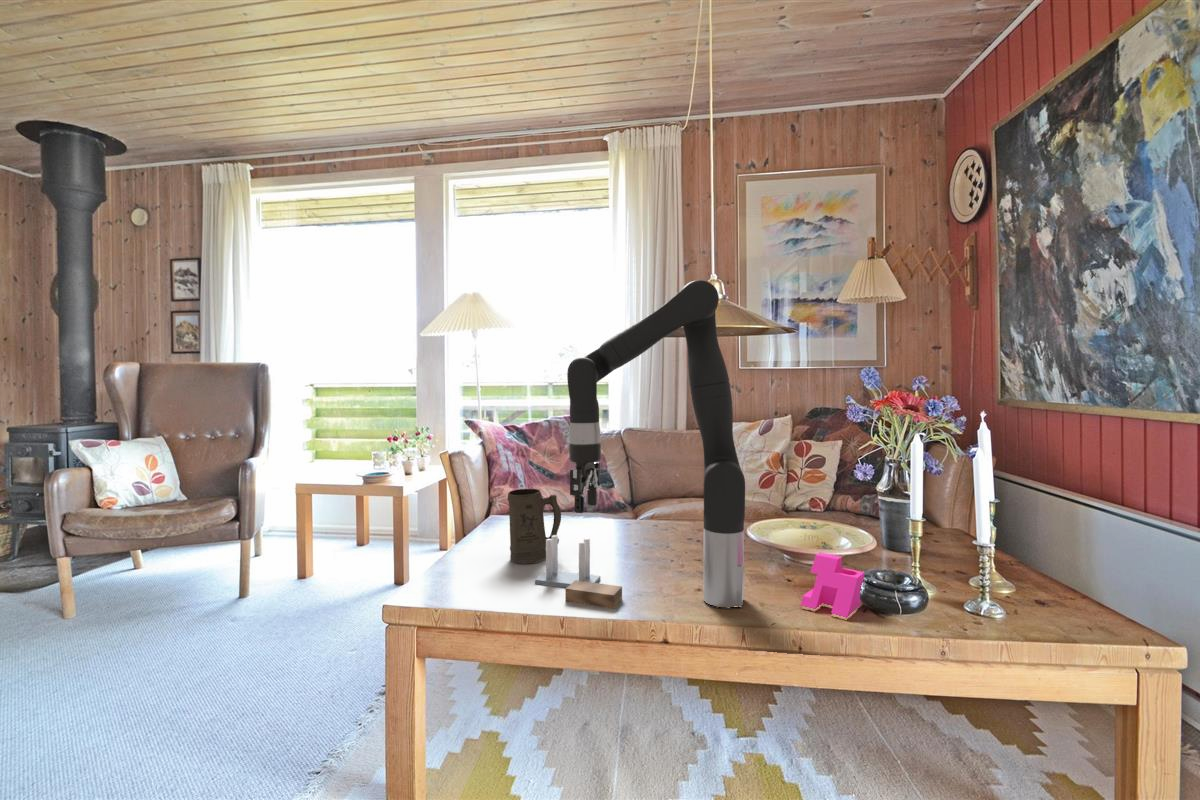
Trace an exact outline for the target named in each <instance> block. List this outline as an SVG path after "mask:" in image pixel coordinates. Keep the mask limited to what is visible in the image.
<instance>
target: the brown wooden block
mask: <svg viewBox="0 0 1200 800" xmlns="http://www.w3.org/2000/svg"><path fill="white" fill-rule="evenodd" d="M564 588H565V590H564V591H565V601H564V602H565V603H571V604H577V605H585V606H592V607H597V608H606V609H613V610H615V608H616V607H617V606H618V605H619V604H620V603H621V602H622V600H623V586H622V585H621V586H620V585H615V584H608V583H599V582H598V583H593V582H585V581H578V580H575V581H574V582H573V583H572V584H570V585H569V586H568V587H564Z"/></svg>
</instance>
